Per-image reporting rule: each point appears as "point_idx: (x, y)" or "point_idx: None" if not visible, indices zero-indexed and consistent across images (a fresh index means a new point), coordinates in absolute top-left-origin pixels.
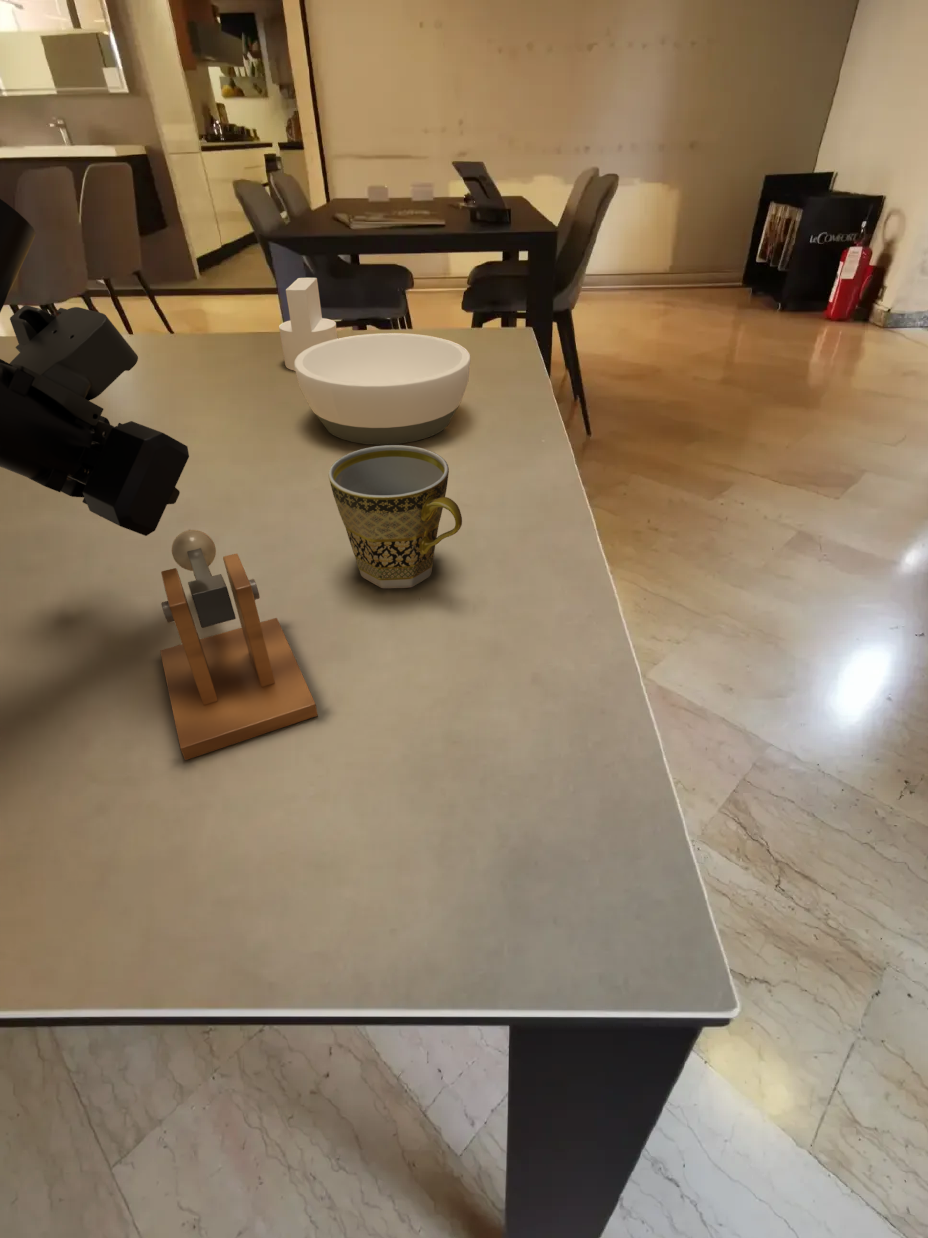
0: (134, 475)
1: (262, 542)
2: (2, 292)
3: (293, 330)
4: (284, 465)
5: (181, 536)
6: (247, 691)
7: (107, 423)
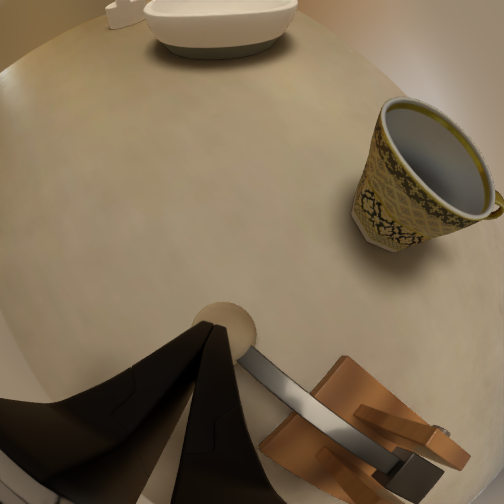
0: None
1: (218, 212)
2: None
3: (117, 5)
4: (163, 96)
5: None
6: None
7: (57, 480)
